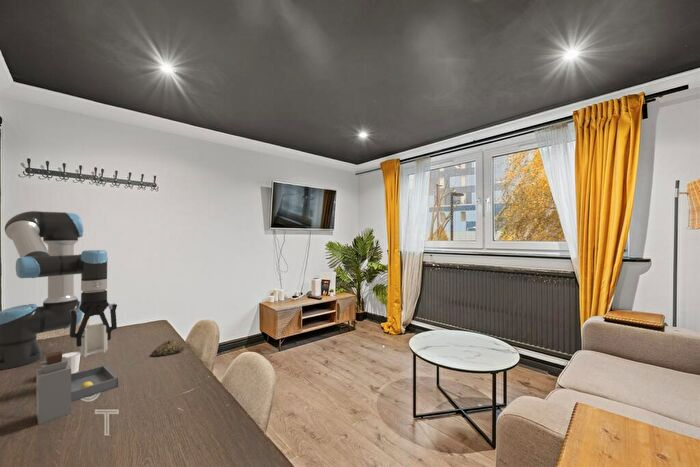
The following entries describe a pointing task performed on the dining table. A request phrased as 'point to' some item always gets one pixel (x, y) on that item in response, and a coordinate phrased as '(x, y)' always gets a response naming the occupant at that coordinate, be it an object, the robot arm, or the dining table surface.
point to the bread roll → (168, 348)
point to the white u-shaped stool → (94, 339)
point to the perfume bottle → (53, 388)
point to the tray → (99, 378)
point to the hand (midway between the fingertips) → (94, 351)
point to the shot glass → (73, 360)
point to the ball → (86, 384)
